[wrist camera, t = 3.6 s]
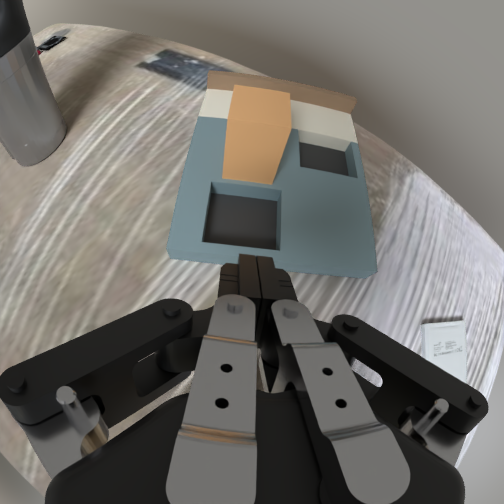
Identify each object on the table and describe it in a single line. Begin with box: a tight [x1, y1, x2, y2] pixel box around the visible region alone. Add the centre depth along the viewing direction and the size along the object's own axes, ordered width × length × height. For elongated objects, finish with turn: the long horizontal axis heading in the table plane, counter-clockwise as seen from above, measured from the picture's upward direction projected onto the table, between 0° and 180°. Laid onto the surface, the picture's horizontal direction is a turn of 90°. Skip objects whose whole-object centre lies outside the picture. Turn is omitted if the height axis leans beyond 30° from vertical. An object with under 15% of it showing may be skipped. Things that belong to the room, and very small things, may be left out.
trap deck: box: [166, 70, 377, 279], centre depth 29 cm, size 20×24×5 cm
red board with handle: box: [36, 36, 66, 55], centre depth 36 cm, size 30×3×15 cm
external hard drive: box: [421, 320, 467, 384], centre depth 25 cm, size 2×8×12 cm
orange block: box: [222, 85, 292, 185], centre depth 25 cm, size 5×5×8 cm
